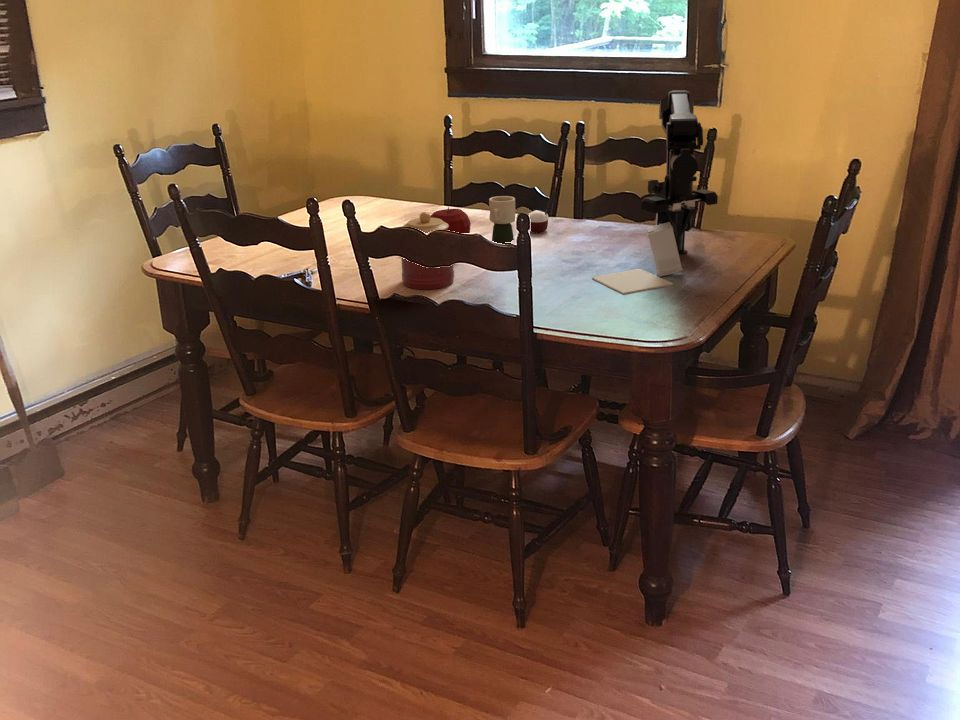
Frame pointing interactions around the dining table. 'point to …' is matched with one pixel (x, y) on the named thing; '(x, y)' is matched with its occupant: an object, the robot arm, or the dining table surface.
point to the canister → (424, 276)
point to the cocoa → (540, 219)
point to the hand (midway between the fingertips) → (678, 236)
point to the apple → (454, 219)
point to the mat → (631, 281)
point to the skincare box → (664, 249)
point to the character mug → (502, 218)
